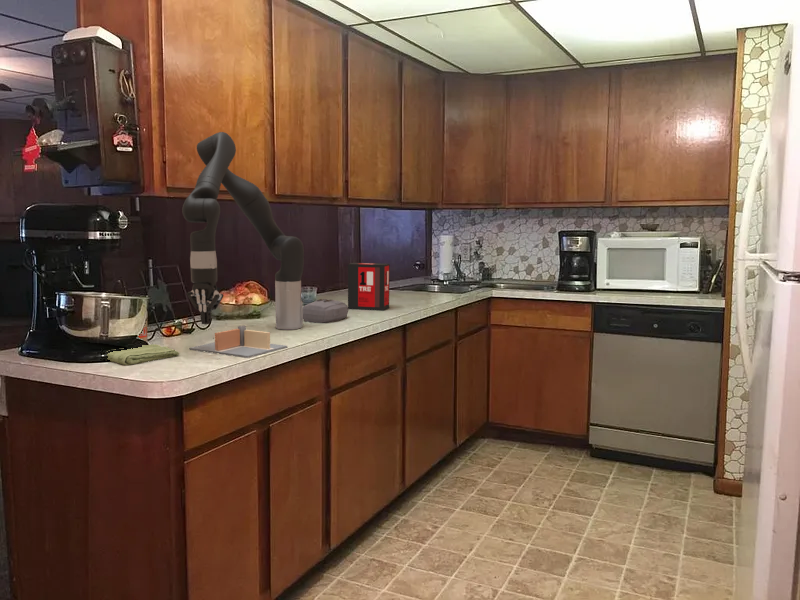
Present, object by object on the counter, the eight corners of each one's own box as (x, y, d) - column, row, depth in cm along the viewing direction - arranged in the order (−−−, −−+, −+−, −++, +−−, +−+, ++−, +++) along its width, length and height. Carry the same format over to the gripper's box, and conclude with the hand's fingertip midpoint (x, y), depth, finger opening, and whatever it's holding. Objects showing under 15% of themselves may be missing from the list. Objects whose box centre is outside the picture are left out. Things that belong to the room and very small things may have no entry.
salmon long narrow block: (237, 344, 201) (236, 328, 200) (239, 345, 200) (239, 329, 200) (215, 349, 193) (214, 333, 193) (218, 350, 193) (217, 333, 192)
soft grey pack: (328, 324, 248) (355, 317, 265) (327, 302, 247) (355, 297, 264) (295, 321, 255) (325, 315, 272) (295, 300, 254) (324, 295, 271)
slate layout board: (230, 340, 213) (230, 320, 212) (287, 347, 203) (287, 326, 202) (189, 349, 198) (188, 328, 197) (248, 357, 187) (247, 335, 186)
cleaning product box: (389, 308, 294) (389, 263, 292) (384, 310, 285) (384, 265, 283) (354, 306, 298) (354, 262, 295) (347, 309, 289) (348, 264, 287)
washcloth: (182, 357, 189) (181, 346, 188) (125, 368, 175) (125, 356, 174) (155, 351, 196) (154, 341, 196) (99, 361, 182) (98, 350, 182)
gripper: (177, 266, 194) (180, 324, 196) (211, 268, 188) (213, 327, 190) (196, 264, 201) (198, 320, 203) (229, 266, 195) (231, 323, 197)
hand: (206, 323), depth 197 cm, fingers closed
